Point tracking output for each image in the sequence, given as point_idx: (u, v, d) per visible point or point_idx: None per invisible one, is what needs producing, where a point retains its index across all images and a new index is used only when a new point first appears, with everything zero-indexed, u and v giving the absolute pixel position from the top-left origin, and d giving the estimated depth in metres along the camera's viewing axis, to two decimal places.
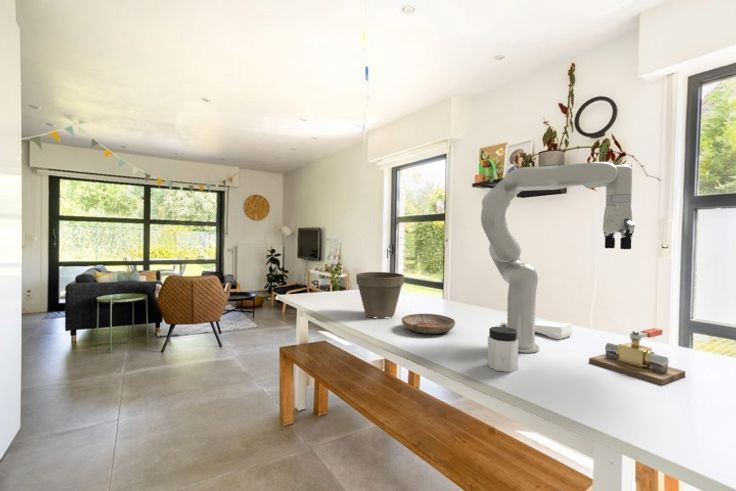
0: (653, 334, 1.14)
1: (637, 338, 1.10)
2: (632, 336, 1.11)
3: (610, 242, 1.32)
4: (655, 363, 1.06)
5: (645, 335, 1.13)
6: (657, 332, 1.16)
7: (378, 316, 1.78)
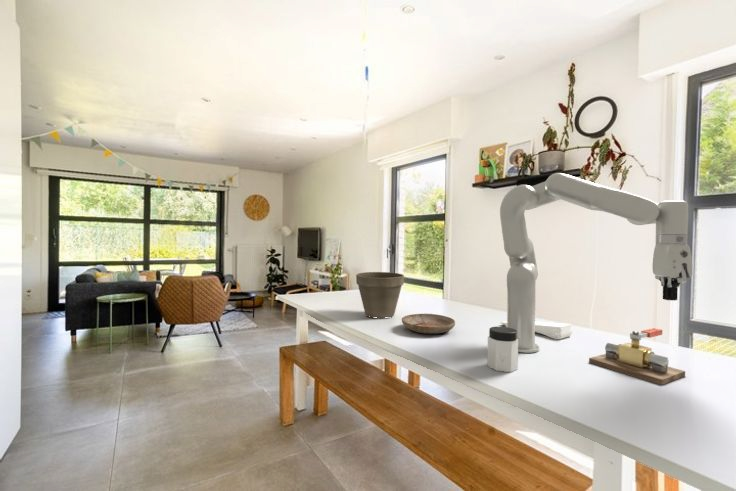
0: (653, 334, 1.14)
1: (637, 338, 1.10)
2: (632, 336, 1.11)
3: None
4: (655, 363, 1.06)
5: (645, 335, 1.13)
6: (657, 332, 1.16)
7: (378, 316, 1.78)
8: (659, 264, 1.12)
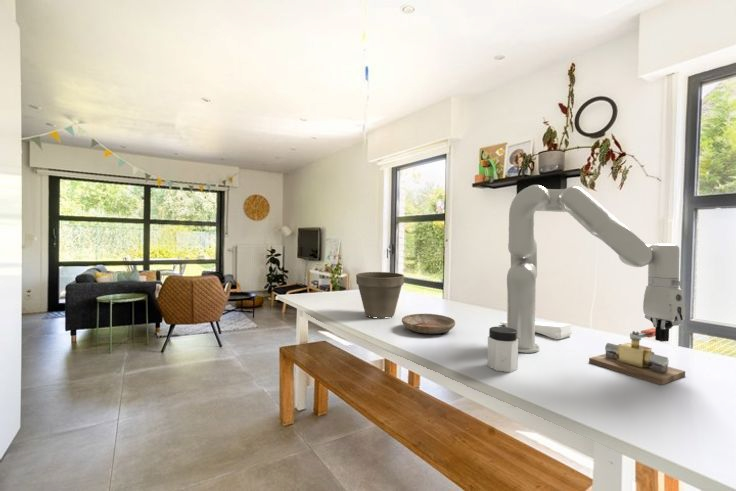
0: (653, 334, 1.15)
1: (637, 338, 1.10)
2: (632, 336, 1.11)
3: None
4: (655, 363, 1.06)
5: (645, 335, 1.13)
6: None
7: (378, 316, 1.78)
8: (652, 305, 1.14)
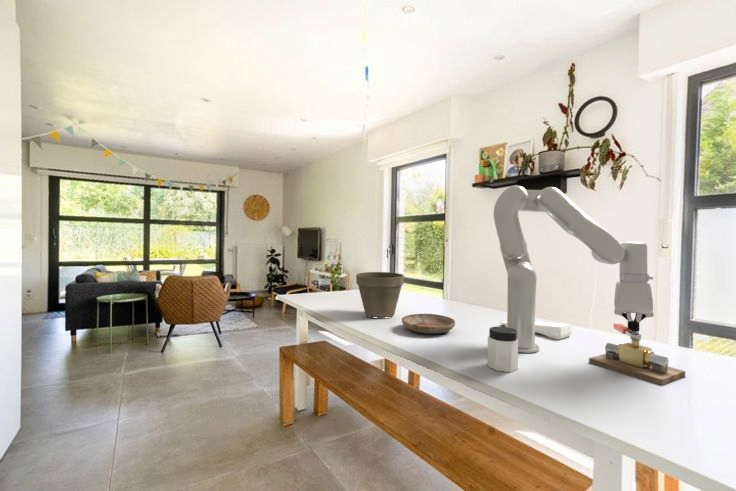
0: None
1: (640, 338, 1.10)
2: (636, 337, 1.10)
3: None
4: (655, 363, 1.06)
5: None
6: None
7: (378, 316, 1.78)
8: (630, 301, 1.18)
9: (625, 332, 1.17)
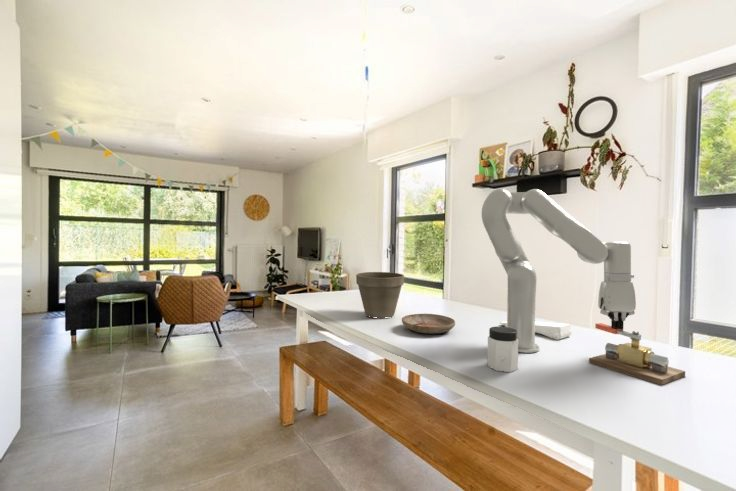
0: None
1: None
2: (639, 337, 1.10)
3: None
4: (655, 363, 1.06)
5: None
6: None
7: (378, 316, 1.78)
8: (618, 301, 1.19)
9: (618, 332, 1.17)
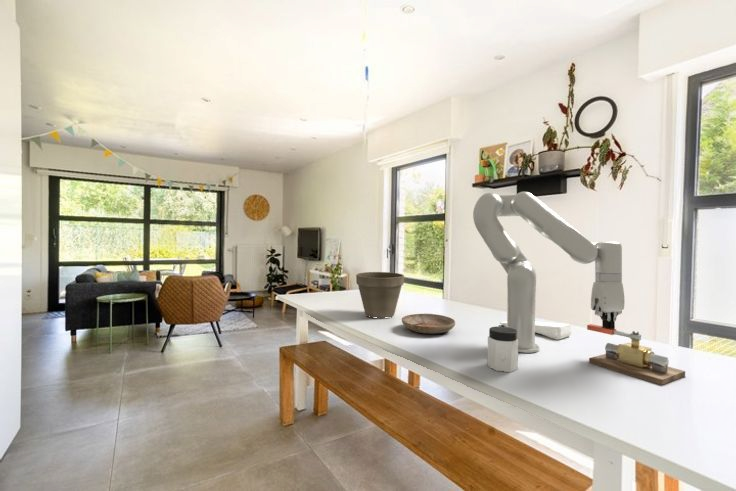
0: None
1: None
2: (640, 337, 1.10)
3: None
4: (655, 363, 1.06)
5: None
6: None
7: (378, 316, 1.78)
8: (612, 301, 1.18)
9: (615, 333, 1.16)
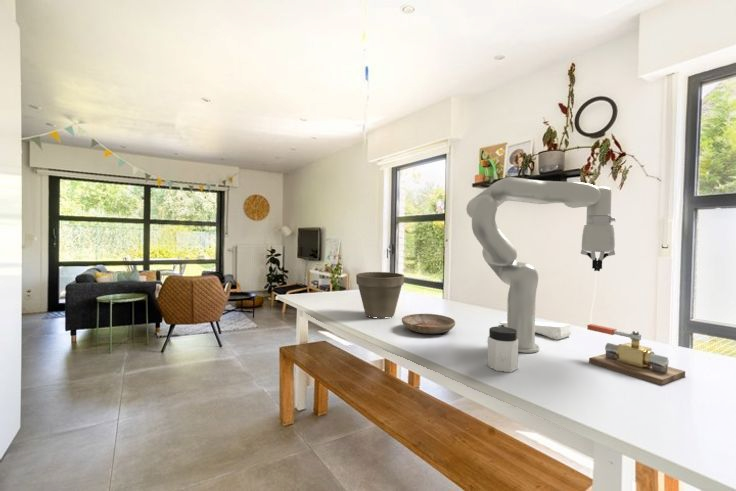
0: None
1: None
2: (640, 337, 1.10)
3: None
4: (655, 363, 1.06)
5: None
6: None
7: (378, 316, 1.78)
8: (593, 241, 1.31)
9: (615, 333, 1.16)
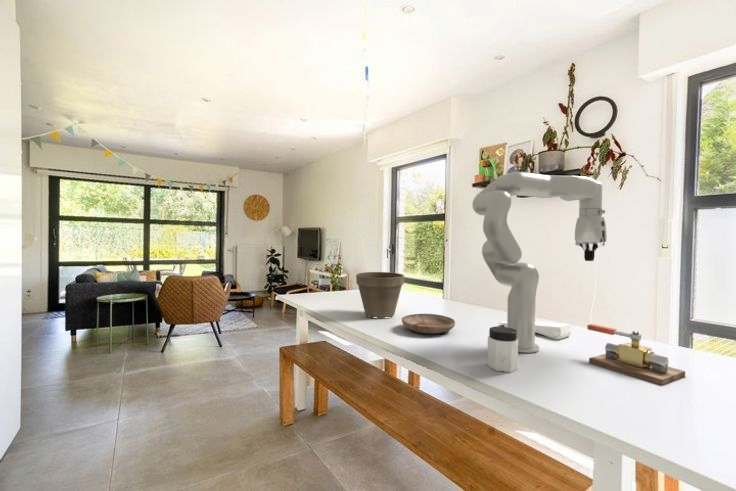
0: None
1: None
2: (640, 337, 1.10)
3: None
4: (655, 363, 1.06)
5: None
6: None
7: (378, 316, 1.78)
8: (582, 232, 1.40)
9: (615, 333, 1.16)
